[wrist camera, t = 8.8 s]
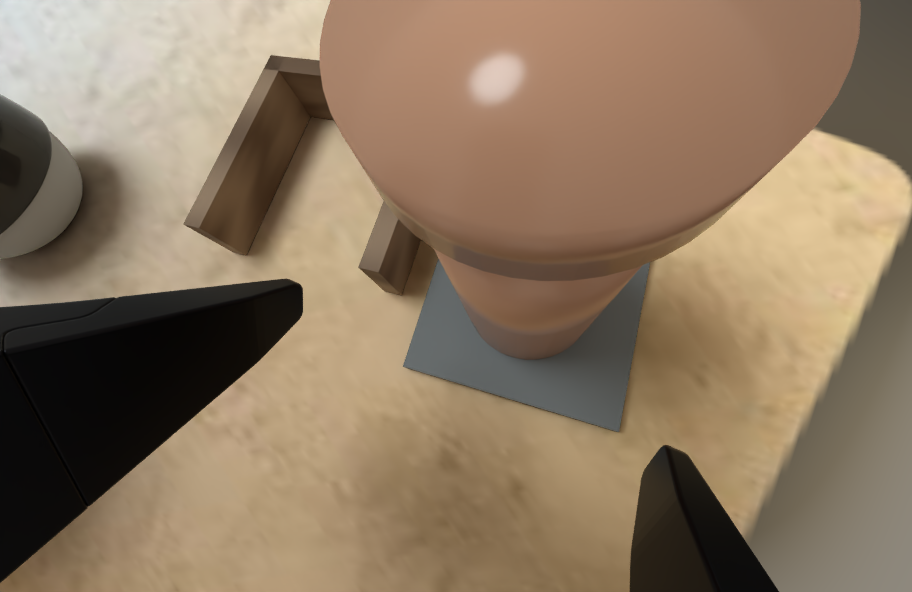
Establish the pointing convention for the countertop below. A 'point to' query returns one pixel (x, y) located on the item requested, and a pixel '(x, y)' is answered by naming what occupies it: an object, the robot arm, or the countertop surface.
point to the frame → (264, 163)
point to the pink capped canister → (572, 133)
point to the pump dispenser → (33, 182)
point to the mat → (542, 380)
